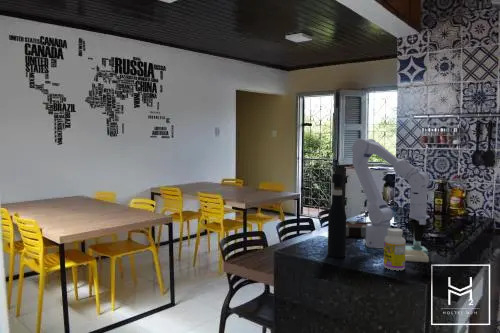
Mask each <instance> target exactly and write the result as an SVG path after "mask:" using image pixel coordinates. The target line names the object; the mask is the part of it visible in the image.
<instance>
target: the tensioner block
mask: <svg viewBox="0 0 500 333" xmlns="http://www.w3.org/2000/svg"><path fill="white" fill-rule="evenodd" d="M405 250H417V251H423V252H424V253H425V254H426V255H427V256H428V255H429V254H428V253H429V252H428V251H429V250H428V249H427V248H426V247H425V246H424V245H423V246H422V245H421V247H414V246H413V245H406V247H405Z"/></svg>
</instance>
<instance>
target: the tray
mask: <svg viewBox="0 0 500 333" xmlns="http://www.w3.org/2000/svg"><path fill="white" fill-rule="evenodd" d="M429 259H430V258H429V256H428V255H426V254H425V253H424V252H423V251H417V250H405V262H417V263H418V262H419V263H421V262H422V263H429V261H430V260H429Z"/></svg>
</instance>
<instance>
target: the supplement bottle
mask: <svg viewBox="0 0 500 333" xmlns="http://www.w3.org/2000/svg"><path fill="white" fill-rule="evenodd" d="M403 230H404V229H401V228H397V227H396V228H393V227H390V228H389V229H388V231H387V233H388V236H386V237H385V239H384V248H383V267H384V268H385V269H386V268H387V270H389V269H390V271H394V270H396V272H397V271H398V272H399V270H400V271H403V270H404V269H405V268H406V261H405V247H406V246H407V244H406V242H407V241H406V239H405V238H404V237H403V233H404V231H403Z"/></svg>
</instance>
